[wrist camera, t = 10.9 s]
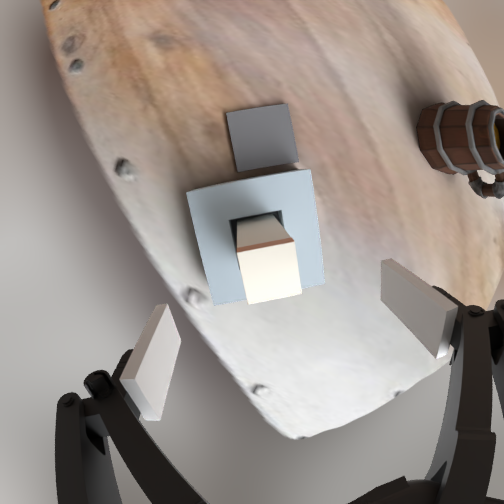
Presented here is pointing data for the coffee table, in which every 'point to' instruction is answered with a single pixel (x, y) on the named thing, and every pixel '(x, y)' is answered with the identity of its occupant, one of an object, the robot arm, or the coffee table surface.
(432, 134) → the mug
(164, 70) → the coffee table surface
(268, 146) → the mat
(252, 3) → the coffee table surface
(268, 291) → the peg
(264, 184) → the socket block
